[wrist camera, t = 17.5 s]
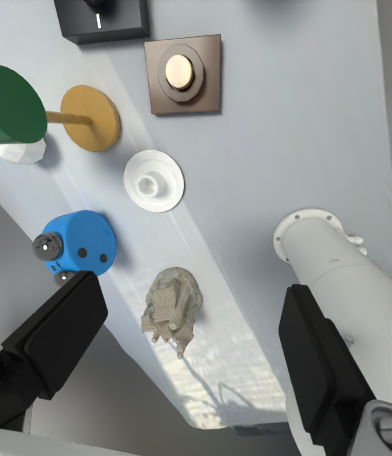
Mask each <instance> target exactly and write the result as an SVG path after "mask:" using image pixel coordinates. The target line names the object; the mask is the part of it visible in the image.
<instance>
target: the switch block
mask: <svg viewBox="0 0 392 456" xmlns="http://www.w3.org/2000/svg"><path fill="white" fill-rule="evenodd" d="M144 49H145V58H146V67H147V76H148V85H149V94H150V103H151V112H152V114H154V115H160V114H181V113H201V112H219V111H220V68H221V34H216V35H207V36H197V37H187V38H177V39H167V40H158V41H148V42H144ZM174 55H183V56H184V57H186V58H187V59H188V61H189V62H190V64H191V66H192V69H193V80H192V83H191V85H190V86H189V87H188V88H186V89H184V90H178V89H176V88H174V87H173V86H172V85H171V84H170V83H169V82H168V80H167V77H166V65H167V62H168V61H169V59H170V58H171V57H172V56H174Z"/></svg>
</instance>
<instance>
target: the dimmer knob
mask: <svg viewBox="0 0 392 456" xmlns="http://www.w3.org/2000/svg"><path fill="white" fill-rule="evenodd" d="M84 1H85V2H86V3H87V4H88V5H90V6H92V7H98V6H100V5H101V4H102V3H103V2H104V1H105V0H84Z"/></svg>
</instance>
